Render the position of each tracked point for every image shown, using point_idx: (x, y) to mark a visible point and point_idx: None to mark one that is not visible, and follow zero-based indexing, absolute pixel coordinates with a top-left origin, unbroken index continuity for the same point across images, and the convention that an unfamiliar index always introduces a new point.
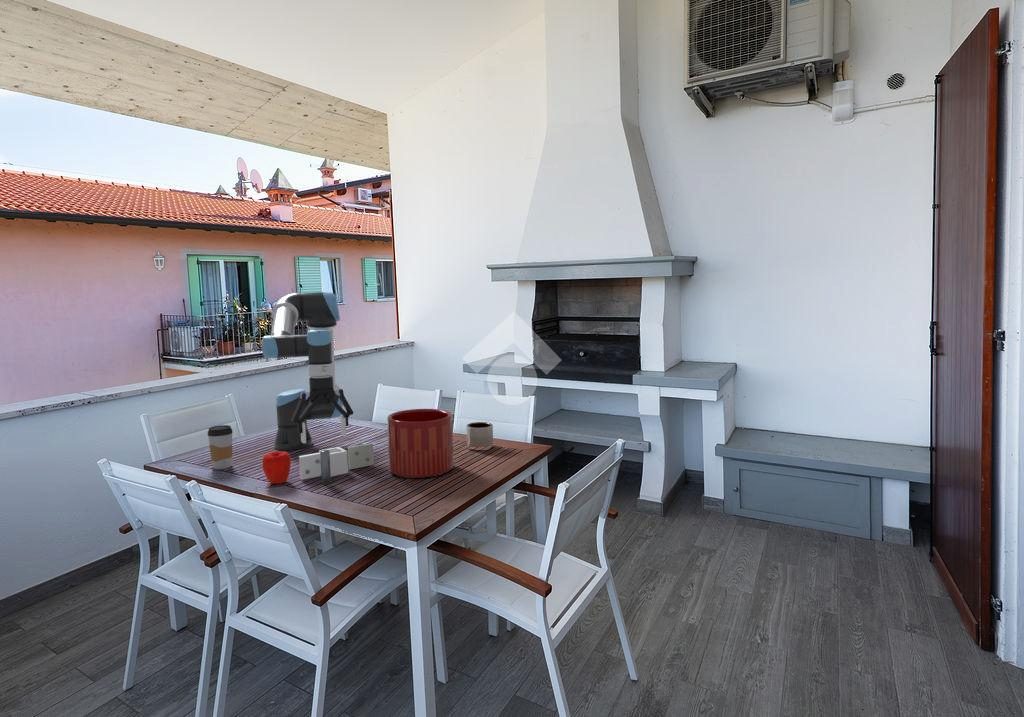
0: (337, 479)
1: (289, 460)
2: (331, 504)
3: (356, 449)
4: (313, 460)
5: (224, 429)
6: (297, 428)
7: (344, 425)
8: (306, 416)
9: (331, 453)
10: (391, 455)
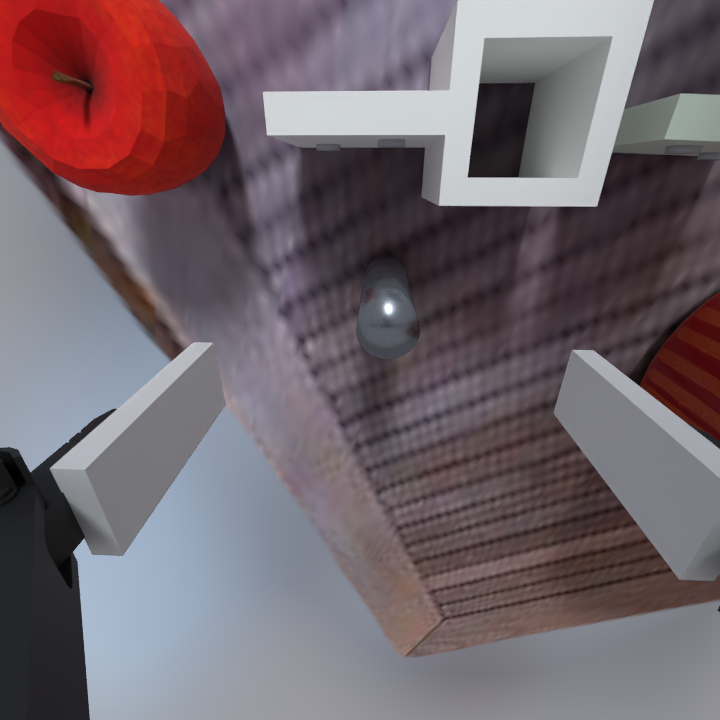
0: (442, 264)
1: (188, 160)
2: (319, 479)
3: (708, 143)
4: (365, 138)
5: None
6: (70, 439)
7: (620, 492)
8: (75, 665)
9: (482, 192)
10: (703, 429)
